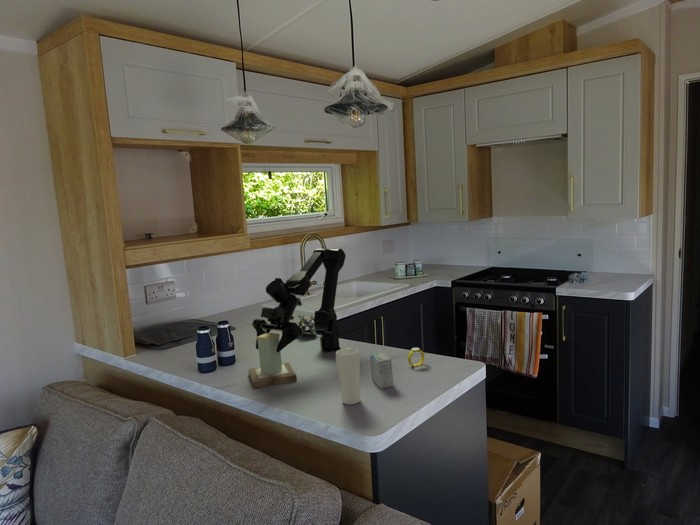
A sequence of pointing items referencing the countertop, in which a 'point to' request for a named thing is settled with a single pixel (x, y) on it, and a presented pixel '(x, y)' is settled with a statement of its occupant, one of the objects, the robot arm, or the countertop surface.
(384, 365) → the medicine box
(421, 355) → the watch
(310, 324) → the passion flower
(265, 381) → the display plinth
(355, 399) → the drinking glass
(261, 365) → the tea tin
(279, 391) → the countertop surface
